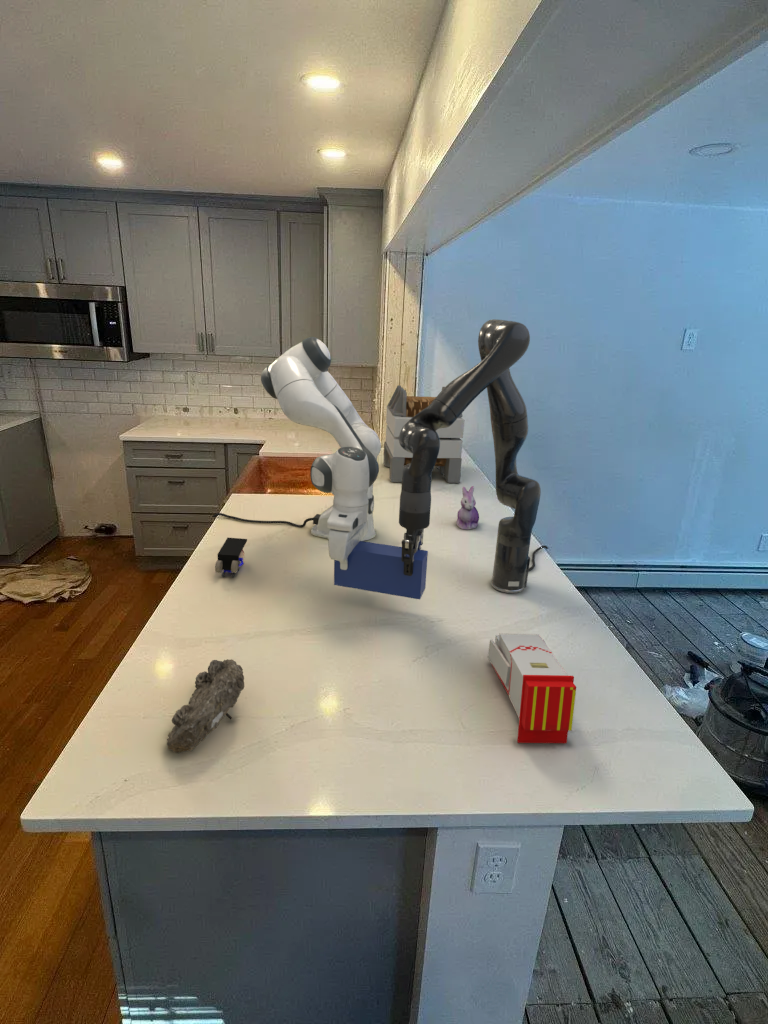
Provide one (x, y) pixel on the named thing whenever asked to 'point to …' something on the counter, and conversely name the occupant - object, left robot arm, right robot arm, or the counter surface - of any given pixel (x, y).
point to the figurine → (468, 510)
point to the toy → (534, 687)
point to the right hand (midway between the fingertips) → (411, 569)
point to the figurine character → (230, 556)
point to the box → (382, 570)
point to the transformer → (450, 442)
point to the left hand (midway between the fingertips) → (349, 562)
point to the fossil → (206, 705)
